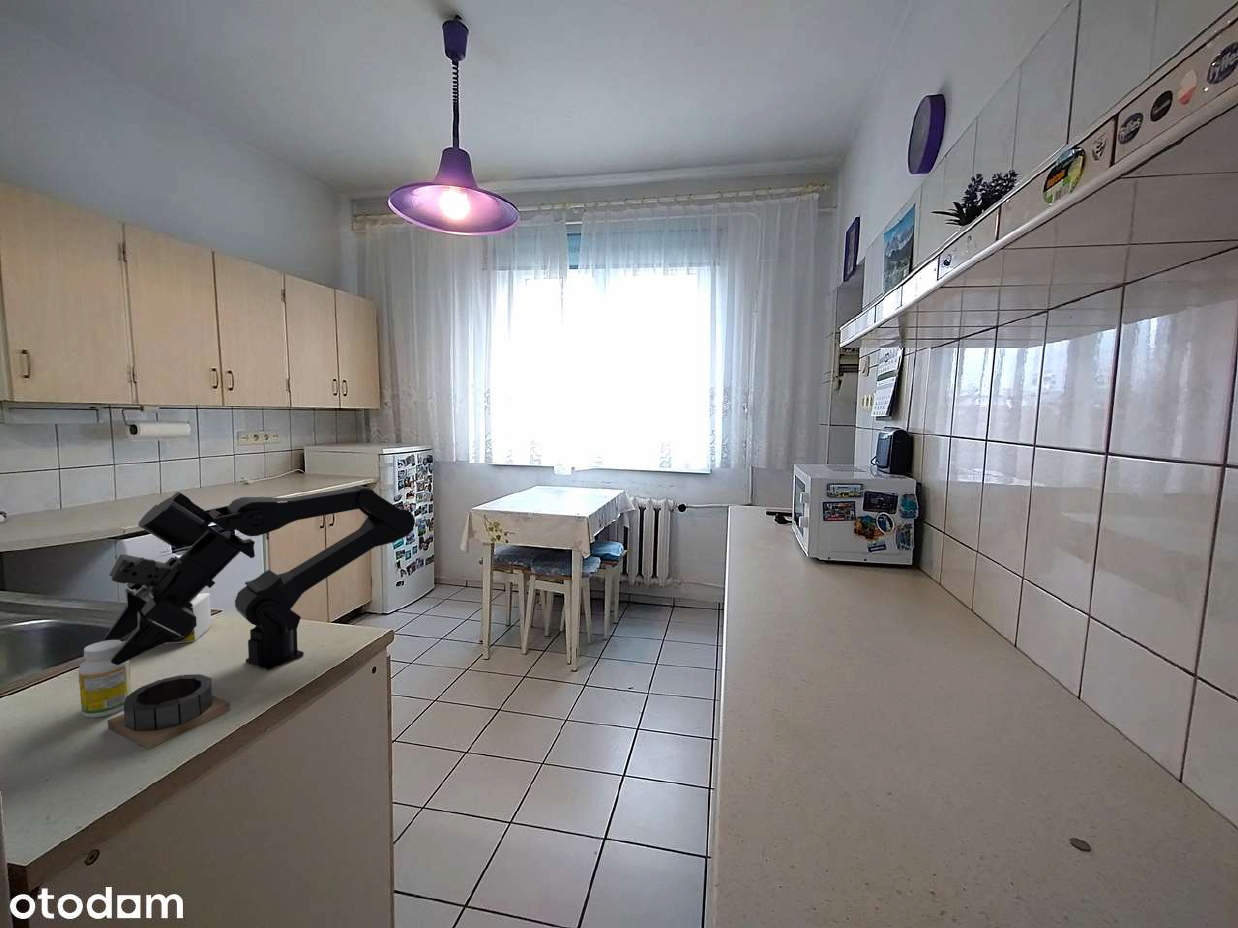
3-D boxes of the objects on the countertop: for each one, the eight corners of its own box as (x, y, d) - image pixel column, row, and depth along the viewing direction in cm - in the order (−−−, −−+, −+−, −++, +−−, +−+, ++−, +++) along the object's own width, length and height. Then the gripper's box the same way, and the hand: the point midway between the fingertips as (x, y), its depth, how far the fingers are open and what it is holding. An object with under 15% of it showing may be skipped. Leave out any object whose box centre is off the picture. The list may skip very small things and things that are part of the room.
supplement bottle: (119, 715, 77) (114, 651, 76) (72, 721, 75) (66, 655, 74) (140, 696, 82) (136, 635, 81) (96, 700, 80) (91, 639, 79)
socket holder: (190, 693, 83) (189, 667, 83) (230, 710, 79) (228, 682, 79) (108, 728, 74) (106, 699, 73) (148, 748, 70) (146, 718, 70)
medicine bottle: (148, 645, 98) (144, 582, 97) (169, 629, 105) (165, 570, 104) (194, 642, 100) (191, 580, 99) (212, 627, 107) (209, 568, 105)
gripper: (141, 523, 87) (47, 607, 79) (163, 546, 74) (53, 648, 67) (204, 562, 93) (122, 642, 86) (233, 589, 81) (140, 685, 74)
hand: (109, 652), depth 78 cm, fingers open, 9 cm apart
